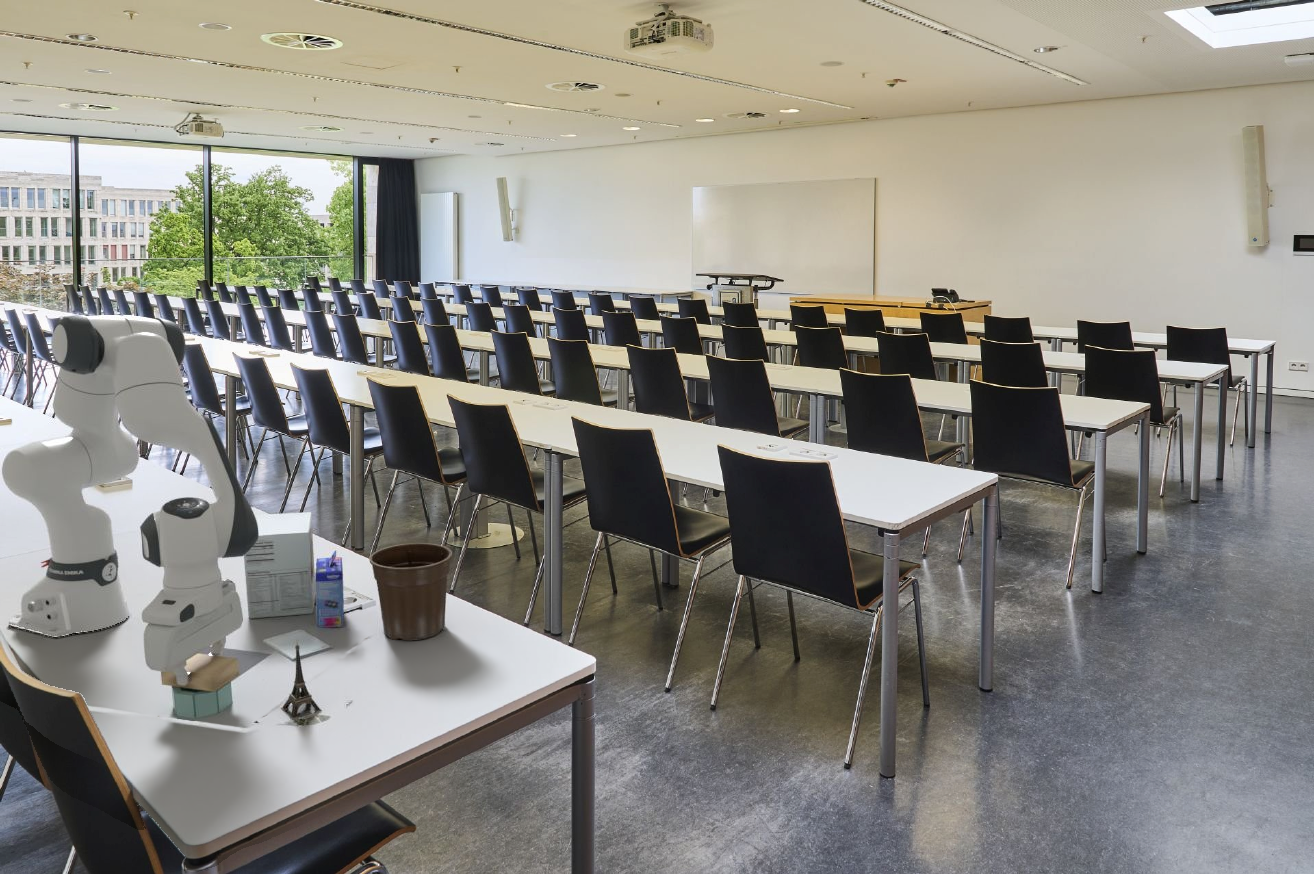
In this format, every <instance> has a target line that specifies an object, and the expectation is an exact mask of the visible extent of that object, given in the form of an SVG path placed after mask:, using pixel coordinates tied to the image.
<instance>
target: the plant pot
mask: <svg viewBox="0 0 1314 874" xmlns="http://www.w3.org/2000/svg"><path fill="white" fill-rule="evenodd" d="M452 557H453V550H451V549H450V548H448V547H447V546H445V545H441V544H437V543H426V542H413V543H402V544H395V545H391V546H386V547H384V548H381V549H379V550H377V551H374V552H373V553H372V554H370V556H369V557H368V558H369V563H370V565H372V566H371V567H372V571H373V576H374V577H373V578H374V580H375V581H376V585H377V587H376V588H377V592H378V599H379V600H378V601H379V605H380V606H379V607H380V611H381V613H380V614H381V619H382V620H381V621H382V625H383V632H384V634H385V636H387V638H390V639H393V640H398V639H403V640H404V641H419V640H425V639H429V638H431V637H434V636H436V635H439V634H440V632H441V631H443V630H444V629H445V626H446V603H447V601H446V600H447V588H448V587H447V586H448V585H447V584H448V575H449V572H450V564H451V563H450V561H451V558H452Z"/></svg>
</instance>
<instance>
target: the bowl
mask: <svg viewBox="0 0 1314 874" xmlns="http://www.w3.org/2000/svg"><path fill="white" fill-rule="evenodd" d="M171 695H172V707H173V709H174V710H173V711H174V714H175V716H178V717H176V719H177V720H183V721H184V720H185V721H190V722H191V721H192V722H195V721H196V722H198V720H197V719H198V718H203V717H206V716H211V715H214V714H218V713H221V712H222V711H224V710H225V709H226V708H227V707H230V706H231V705H232V704H233V692H232V681H229V682H228V683H227V684H225V685H224V686H222V687H221V688H219V689H218V690H216V691H215V692H213V691H205V690H198V689H191V688H183V687H176V686H171ZM182 717H183V718H182ZM184 717H185V718H184ZM188 718H193V719H188ZM195 718H196V720H195Z"/></svg>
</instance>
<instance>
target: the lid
mask: <svg viewBox="0 0 1314 874" xmlns="http://www.w3.org/2000/svg"><path fill="white" fill-rule="evenodd" d="M186 664H187V665H186V666H185V667H184V668H185V670H186V671H187V672H191V676H192V677H191V678H192V681H191V682H190V683H188V684H187V685H185V686H183V685H178V684H177V678H176V675H175V674H174V672H173V671H172V670H170V671H168V672H162V671H160V674H161V675H160V678H161V679H160V680H161V685H162V686H170V687H172V686H176V687H183V688H191V689H198V690H205V691H213V692H215V691H216V690H218V689H219V688H221V687H222V686H224V685H225V684H227V683H228V682H229V681H231V680H232V679H234V678H235V677H237V676H238V675H239V666H238V658H230V657H222V656H214V655H206V654H196V655H195V656H193V657H191V658H190V659H188V660H186ZM238 677H239V676H238ZM238 677H237V678H238ZM234 680H235V679H234ZM231 682H232V681H231Z"/></svg>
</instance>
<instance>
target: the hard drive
mask: <svg viewBox="0 0 1314 874" xmlns="http://www.w3.org/2000/svg"><path fill="white" fill-rule="evenodd" d="M262 643H264V644H265V645H267V646H268V647H270V648H271V649H273V650H274V651H276V652H277V653H279V654H281V655H282V656H284V657H286V658H287V659H288V660H290V661H292V662H294V661H296V649H295V646H296V645H298V646H299V648H300V649H299V653H300V660H301V659H303V658H307V657H310V656H314V655H316V654H320V653H323V652H326V651H329V650H332V649H333V646H331V645H329V644H327V643H326V642H324V641H322V640H320V639H319V638H317V637H315V636H314V635H312V634H311V633H308V632H307V631H305V630H303V629H297V630H293V631H289V632H286V633H282V634H279V635H275V636H272V637H268V638H265V639H264V640H262Z"/></svg>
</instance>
